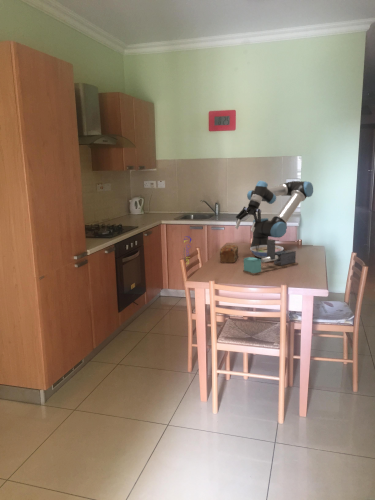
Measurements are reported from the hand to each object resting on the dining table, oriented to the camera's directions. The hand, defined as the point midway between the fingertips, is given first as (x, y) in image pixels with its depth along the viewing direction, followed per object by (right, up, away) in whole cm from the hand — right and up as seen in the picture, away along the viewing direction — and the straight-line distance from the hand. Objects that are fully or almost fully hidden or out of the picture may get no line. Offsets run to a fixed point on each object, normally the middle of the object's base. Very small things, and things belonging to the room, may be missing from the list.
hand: (244, 229), depth 271 cm
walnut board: (+13, -25, -25) cm, 38 cm away
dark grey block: (+23, -23, -19) cm, 38 cm away
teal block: (0, -27, -33) cm, 43 cm away
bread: (-10, -21, +1) cm, 23 cm away
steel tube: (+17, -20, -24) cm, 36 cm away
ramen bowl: (+16, -20, -1) cm, 25 cm away
